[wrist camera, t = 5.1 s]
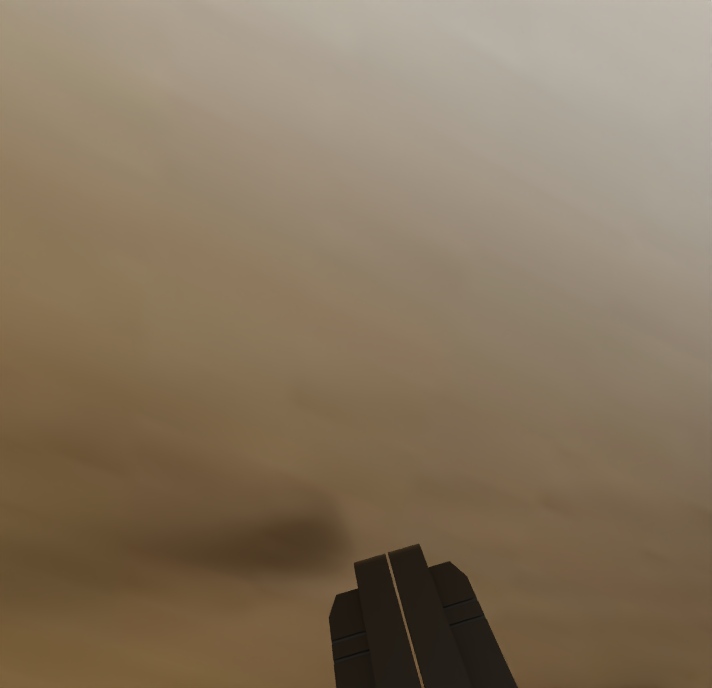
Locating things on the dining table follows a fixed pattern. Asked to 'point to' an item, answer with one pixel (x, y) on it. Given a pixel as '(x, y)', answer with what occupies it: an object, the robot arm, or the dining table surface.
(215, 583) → the dining table surface
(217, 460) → the dining table surface
